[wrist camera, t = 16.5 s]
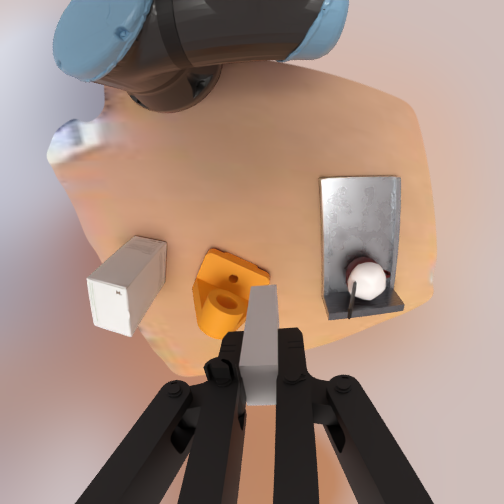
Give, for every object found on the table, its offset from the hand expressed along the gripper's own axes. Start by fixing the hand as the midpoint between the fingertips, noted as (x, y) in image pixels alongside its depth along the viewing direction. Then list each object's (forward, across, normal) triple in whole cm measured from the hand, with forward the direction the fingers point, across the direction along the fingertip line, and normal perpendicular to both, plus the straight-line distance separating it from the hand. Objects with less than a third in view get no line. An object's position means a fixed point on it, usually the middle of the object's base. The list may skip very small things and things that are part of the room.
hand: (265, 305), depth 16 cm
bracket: (+27, -7, -11) cm, 30 cm away
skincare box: (+27, -21, -7) cm, 35 cm away
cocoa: (+26, +14, -11) cm, 31 cm away
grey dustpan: (+26, +14, -6) cm, 30 cm away
